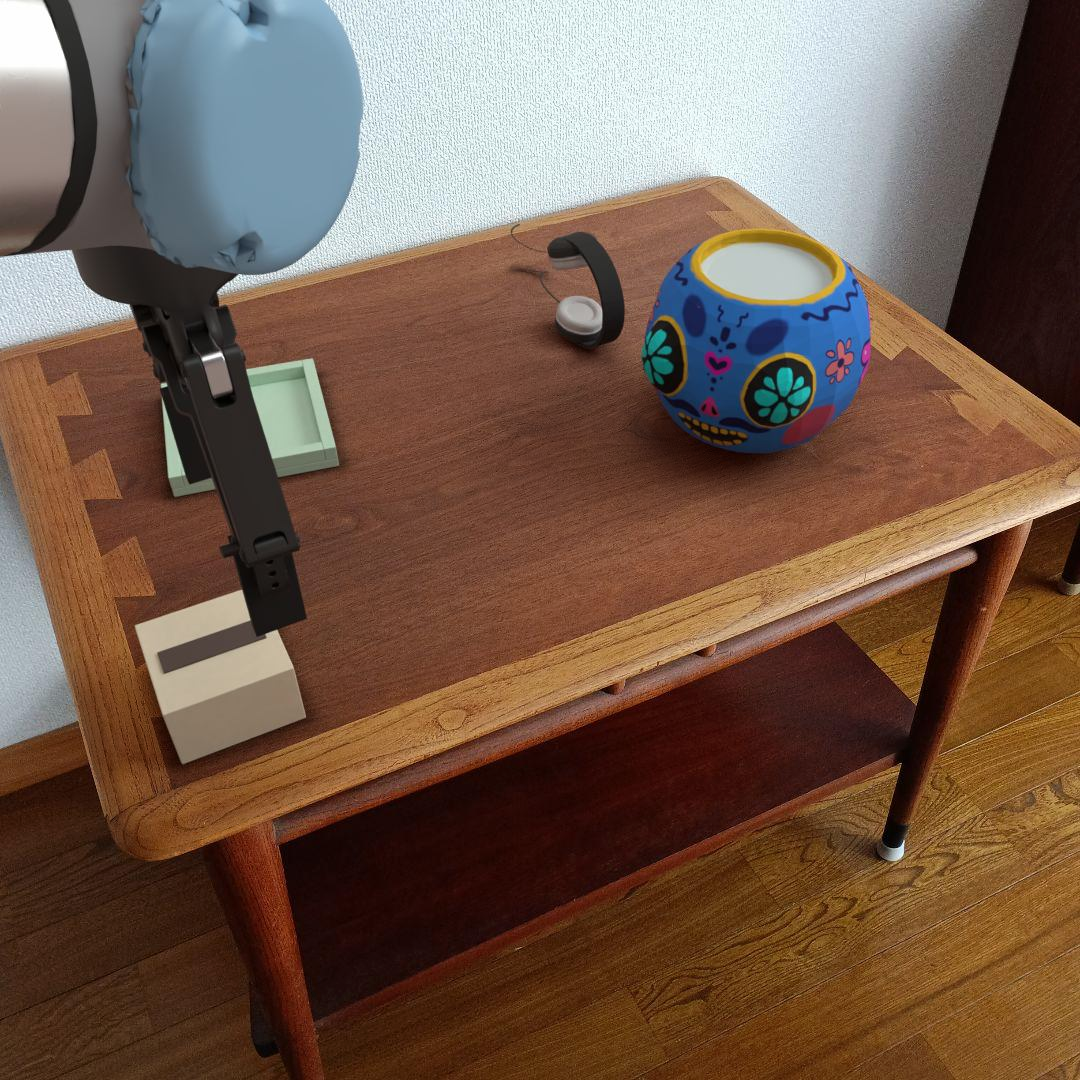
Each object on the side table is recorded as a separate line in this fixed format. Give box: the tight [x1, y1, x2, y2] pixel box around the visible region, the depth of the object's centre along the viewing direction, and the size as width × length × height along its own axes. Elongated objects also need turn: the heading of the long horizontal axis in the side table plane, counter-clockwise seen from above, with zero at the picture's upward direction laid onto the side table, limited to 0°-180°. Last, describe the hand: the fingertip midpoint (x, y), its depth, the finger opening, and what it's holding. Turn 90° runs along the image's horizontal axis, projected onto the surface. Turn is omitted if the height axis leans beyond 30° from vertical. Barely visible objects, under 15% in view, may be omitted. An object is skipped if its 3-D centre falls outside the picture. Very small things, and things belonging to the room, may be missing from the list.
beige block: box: [134, 589, 307, 765], centre depth 71 cm, size 8×8×5 cm
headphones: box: [510, 223, 626, 350], centre depth 102 cm, size 10×4×20 cm
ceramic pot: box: [641, 227, 872, 454], centre depth 88 cm, size 18×18×15 cm
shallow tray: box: [160, 357, 340, 498], centre depth 92 cm, size 13×13×2 cm
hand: (242, 544), depth 62 cm, fingers open, 13 cm apart
